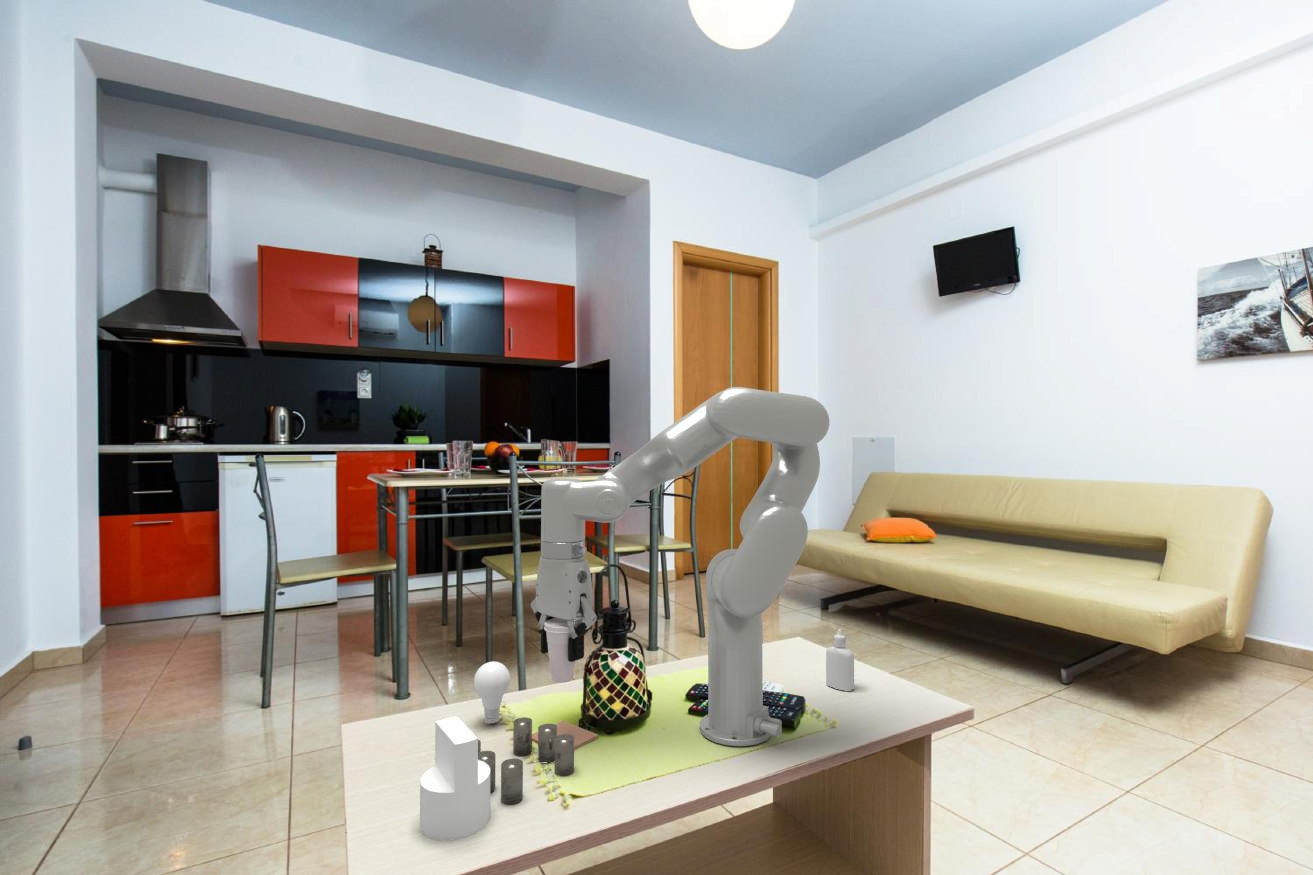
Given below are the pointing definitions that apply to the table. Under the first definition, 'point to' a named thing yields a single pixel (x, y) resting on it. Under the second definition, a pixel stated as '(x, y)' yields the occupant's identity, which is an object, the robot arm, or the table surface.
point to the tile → (579, 734)
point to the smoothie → (559, 650)
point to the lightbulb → (491, 688)
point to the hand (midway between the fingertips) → (562, 654)
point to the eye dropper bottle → (840, 664)
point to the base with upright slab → (454, 785)
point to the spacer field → (548, 752)
